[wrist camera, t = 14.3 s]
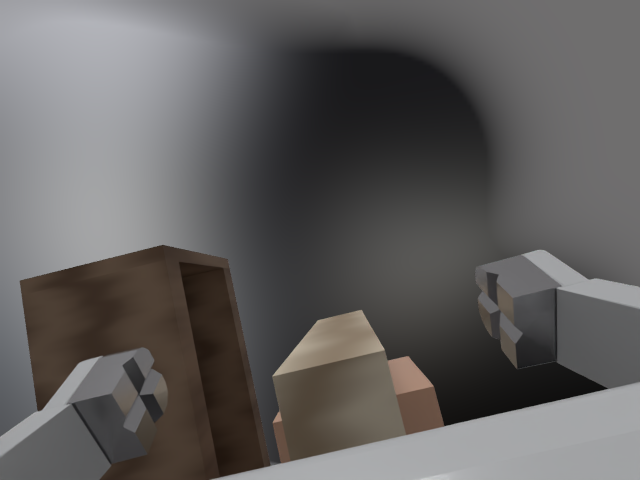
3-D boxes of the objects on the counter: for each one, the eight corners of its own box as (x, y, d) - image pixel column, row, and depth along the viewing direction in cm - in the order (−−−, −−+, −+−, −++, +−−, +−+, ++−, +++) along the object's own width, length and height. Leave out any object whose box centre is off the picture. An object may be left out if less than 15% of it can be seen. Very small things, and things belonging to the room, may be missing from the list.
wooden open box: (79, 716, 23) (19, 280, 26) (181, 553, 37) (133, 282, 40) (244, 683, 22) (162, 245, 26) (284, 531, 36) (227, 258, 40)
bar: (298, 496, 11) (272, 376, 12) (328, 365, 30) (317, 320, 31) (415, 471, 11) (384, 350, 12) (372, 354, 30) (361, 310, 31)
